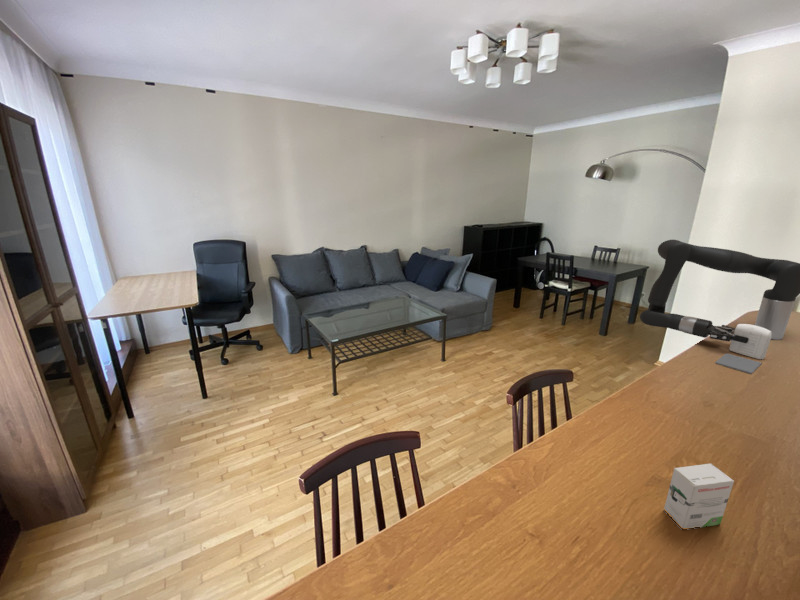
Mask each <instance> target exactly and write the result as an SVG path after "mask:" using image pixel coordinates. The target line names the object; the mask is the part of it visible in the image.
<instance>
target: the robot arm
mask: <svg viewBox="0 0 800 600" xmlns="http://www.w3.org/2000/svg"><path fill="white" fill-rule="evenodd" d="M657 253H658V255H659V256H660V258H662V259H664V266H663V269H662V271H661V272H660V275H659V276H658V278H657V279H656V280H655V282H654V283H653V284H652V286H651V289H650V292H649V294H648V298H647V303H648V304H649V305H648V308H647V309H646V310H644V311H642V312H641V313H640V315H639V319H640V322H642V323H643V324H645V325H648V326H651V327H658V328H666V329H667V328H668V329H671V330H675V331H679V332H682V333H684V334H688V335H693V336H696V337H701V338H703V339H704V338H708V337H709V338H710V339H711V340H718V341H723V342H728V343H729V342H730V343H731V341H738V342H742V343H747V342H748V338H747V337H742V336H738V335H734V331H735V328H736V327H732V326H729V325H725V324H721V326H720V325H713V321H711V320H708V319H704V318H699V317H694V316H687V315H682V314H678V313H665V312H666V305H667V304H666V303H667V302H668V299H669V297H670V293H671V292H672V288H673V286H674V283H675V282H676V279H678V276H679V274H680V272H681V270H682V269H683V267H684V265H685V264H686V262H689V263H694V264H697V265H699V266H702V267H704V268H708V269H711V270H716V271H719V272H725V273H731V274H750V275H754V276H755V275H756V276H759V277H762V278H766V279H768V280H770V281H774V284H773V287H772V288H771V289H770V288H769V289H766V290H765V291H764V292H763V295H762V298H761V300H760V301H761V302H760V306H759V309H758V313H757V315H756V319H755V323H754V325H756V326H760V327H763V328H765V329H768V330H770V331H771V332H772V334H771V335H772V337H771V340H777V341H778V340H779V341H780V340H782V339H783V338H784V336H785V334H786V333H785V332H786V330H787V327H788V324H789V321H790V318H791V314H792V312H793V308H794V305H795V302H796V300H797V299H796V298H797V297H798V296H799V295H800V263H799V262H797V261H792V260H788V259H776V258H765V257H759V256H755V255H752V254H749V253H745V252H741V251H736V250H732V249H727V248H718V247H712V246H711V247H710V246H701V245H695V244H691V243H687V242H685V241H680V240H678V239H669V240H665V241H663V242H661V243H660V244H659V245H658V247H657Z"/></svg>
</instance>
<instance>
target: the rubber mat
mask: <svg viewBox="0 0 800 600" xmlns="http://www.w3.org/2000/svg"><path fill="white" fill-rule="evenodd" d="M715 363H716V364H715ZM714 364H715V365H718V364H719V365H718V366H721V365H722V367H725V368H729V369H732V370H736V371H738V370H739V371H740V372H741V373H746V374H749V375H752V374H753V373H754V372H756V370H757V369H758V368H759V367H760V366H761V365H762V362H760V361H757V360H752V359H748V358H745V357H742V356H738V355H734V354H732V353H731V354H730V353H725V354H723V355H721V357H720V358H718V359H717V360H716V361H715V362H714Z"/></svg>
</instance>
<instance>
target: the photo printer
mask: <svg viewBox="0 0 800 600" xmlns="http://www.w3.org/2000/svg"><path fill="white" fill-rule="evenodd" d="M734 328H735V331H734V332H733V333H734V335H738V336H742V337H747V338H748V342H747V343H742V342H738V341H730V345H729V348H728V350H729V352H734V353H737V354H740V355H743V356H745V357H750V358H753V359H757V360H761V359H762V360H764V359H765V358H766V355H767V351H768V349H769V346H770V343H771V340H772V339H771V337H772V335H771V334H772V332H771V331H770V330H768V329H765V328H763V327H760V326H756V325H755V324H748V323H738V324H737V325H736V327H734Z"/></svg>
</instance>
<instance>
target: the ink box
mask: <svg viewBox="0 0 800 600" xmlns="http://www.w3.org/2000/svg"><path fill="white" fill-rule="evenodd" d="M734 483H735V480H734V479H732V478H731V477H730V476H728V475H727V474H726V473H725V472H723V470H721V469H719V468H718V467H717V466H715V465H714V464H713V463H711V462H710V463H704V464H695V465H688V466H680V467H674V468H673V472H672V476H671V479H670V484H669V488H668V492H667V496H666V501H665V504H664V508H663V510H664V509H665V510H666V511H667V512H668V513H669V514H670V515H671V516H672V517H673V519H674V520H675V521H676V522H677V523H678V524H679V525H680V526H681V527H682V528H694V527H700V528H706V526H707V527H713V526H719V524H720V525H721V523H722V520H723V518H724V514H725V511H726V507H727V504H728V501H729V498H730V495H731V491H732V489H733V486H734ZM694 529H695V528H694Z"/></svg>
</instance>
